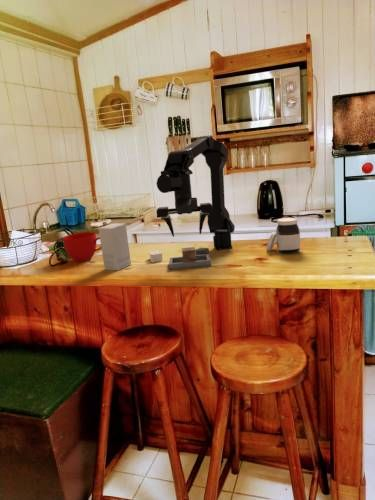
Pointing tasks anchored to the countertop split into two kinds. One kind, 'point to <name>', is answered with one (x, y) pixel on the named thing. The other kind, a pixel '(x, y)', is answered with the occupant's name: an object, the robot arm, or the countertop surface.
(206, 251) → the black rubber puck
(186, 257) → the walnut block
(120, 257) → the skincare box
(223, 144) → the robot arm
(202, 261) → the charcoal tray
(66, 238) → the ceramic cup
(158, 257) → the off-white plastic block
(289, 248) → the spread jar
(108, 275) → the countertop surface
